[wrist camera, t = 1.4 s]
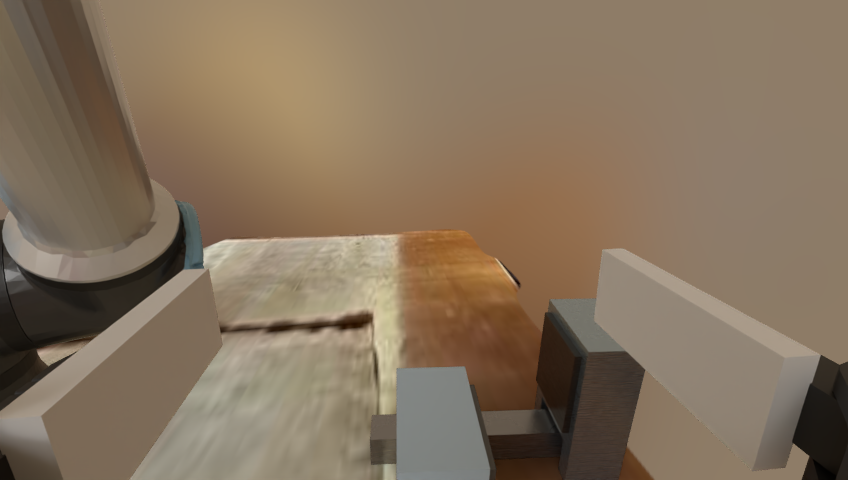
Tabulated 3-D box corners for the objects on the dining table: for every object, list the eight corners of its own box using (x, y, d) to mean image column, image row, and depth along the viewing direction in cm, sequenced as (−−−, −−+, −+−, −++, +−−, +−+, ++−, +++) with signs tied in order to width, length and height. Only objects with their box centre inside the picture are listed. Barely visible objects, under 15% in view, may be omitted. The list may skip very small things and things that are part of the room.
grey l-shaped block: (369, 492, 35) (363, 357, 30) (374, 417, 43) (370, 302, 38) (618, 480, 37) (650, 350, 32) (578, 410, 45) (598, 298, 40)
